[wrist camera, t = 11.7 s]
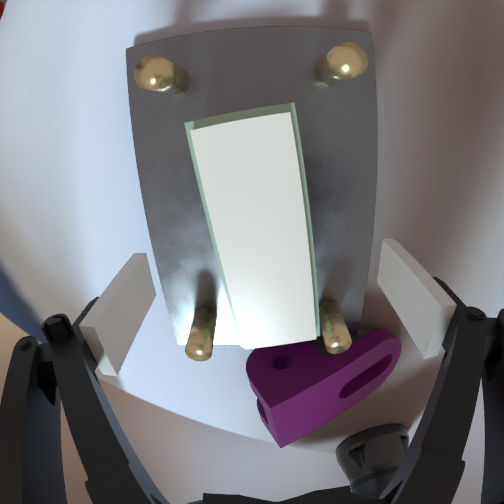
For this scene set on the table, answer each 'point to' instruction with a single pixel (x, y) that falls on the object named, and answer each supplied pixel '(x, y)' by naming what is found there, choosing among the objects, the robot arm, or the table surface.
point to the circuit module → (259, 221)
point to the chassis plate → (313, 149)
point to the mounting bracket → (316, 381)
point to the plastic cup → (1, 9)
